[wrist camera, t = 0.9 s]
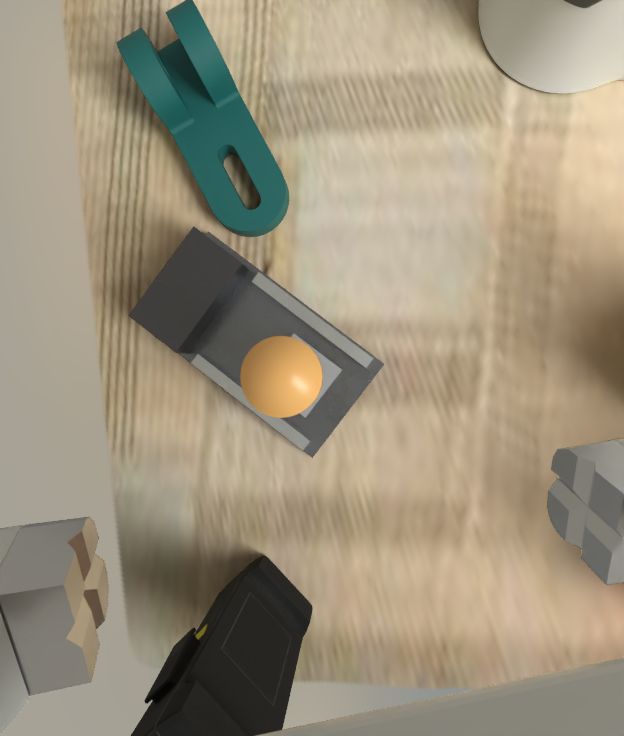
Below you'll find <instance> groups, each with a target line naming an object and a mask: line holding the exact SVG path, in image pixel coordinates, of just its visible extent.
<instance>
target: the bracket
mask: <svg viewBox="0 0 624 736" xmlns="http://www.w3.org/2000/svg"><path fill="white" fill-rule="evenodd" d="M166 14H167V16H168V18H169V20H170V22H171V24H172V26H173V27H174V29H175V31H176V33H177V35H178V37H179V39H178V40H176V41H175V42H173V43H171V44H170V45H168V46H166V47H165V48H163V49H161V50H160V51H157V50H156V48H155V47H154V45H153V44H152V42H151V41H150V39H149V37H148V36H147V34H146V33H145V31H144V30H143V29H142V28H139V29H138V30H136V31H134V32H133V33H131V34H129V35H128V36H126V37H124V38H123V39H121V40H120V41H118V42H117V46H118V48H119V51H120V53H121V55H122V57H123V59H124V61H125V63H126V65H127V67H128V68H129V70H130V72H131V74H132V75H133V77H134V79H135V81H136V82H137V84H138V86H139V87H140V89H141V91H142V92H143V94H144V96H145V97H146V99H147V100H148V102H149V103H150V105H151V106H152V108H153V109H154V111H155V112H156V114H157V115H158V116H159V118H160V119H161V120H162V122H163V123H164V124H165V125H166V127H167V128H168V129H169V130H170V132H171V134H172V135H173V137H174V139H175V141H176V143H177V145H178V147H179V149H180V151H181V152H182V154H183V156H184V158H185V160H186V162H187V164H188V166H189V168H190V169H191V171H192V173H193V175H194V177H195V179H196V181H197V183H198V185H199V187H200V188H201V190H202V192H203V194H204V196H205V198H206V200H207V202H208V204H209V206H210V207H211V209H212V211H213V213H214V215H215V216H216V217H217V218H218V219H219V220H220V222H221V223H222V224H223V225H224V226H225V227H226V228H227V229H229V230H230V231H232V232H233V233H235V234H238V235H241V236H245V237H256V236H261V235H264V234H266V233H268V232H270V231H272V230H273V229H274V228H275V227H277V226H278V225H279V223H280V222H281V221H282V220H283V218H284V216H285V214H286V212H287V209H288V205H289V191H288V187H287V184H286V182H285V179H284V177H283V174H282V172H281V170H280V169H279V167H278V165H277V163H276V161H275V159H274V157H273V155H272V154H271V152H270V150H269V148H268V146H267V144H266V142H265V141H264V139H263V137H262V135H261V133H260V131H259V129H258V127H257V126H256V124H255V122H254V120H253V118H252V116H251V114H250V113H249V111H248V109H247V107H246V105H245V103H244V101H243V100H242V98H241V96H240V94H239V92H238V90H237V88H236V85H235V83H234V81H233V79H232V76H231V74H230V72H229V70H228V68H227V66H226V64H225V62H224V60H223V57H222V55H221V53H220V51H219V49H218V47H217V45H216V43H215V41H214V40H213V38H212V36H211V34H210V32H209V30H208V28H207V26H206V24H205V22H204V20H203V18H202V17H201V15H200V13H199V11H198V9H197V7H196V6H195V4H194V2H193V0H186V1H184V2H182V3H181V4H179V5H177V6H176V7H174V8H172V9H171V10H169V11H167V12H166ZM230 154H236V155H238V156H239V157H240V158H241V160H242V162H243V164H244V166H245V168H246V170H247V172H248V173H249V175H250V177H251V179H252V181H253V183H254V185H255V187H256V188H257V190H258V192H259V194H260V196H261V203H260V205H259V207H257V208H256V209H254V210H249V209H246V208H245V206H244V204H243V202H242V200H241V198H240V196H239V194H238V192H237V191H236V189H235V187H234V185H233V183H232V181H231V179H230V177H229V175H228V174H227V172H226V170H225V168H224V159H225V158H226V157H227V156H228V155H230Z"/></svg>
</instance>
